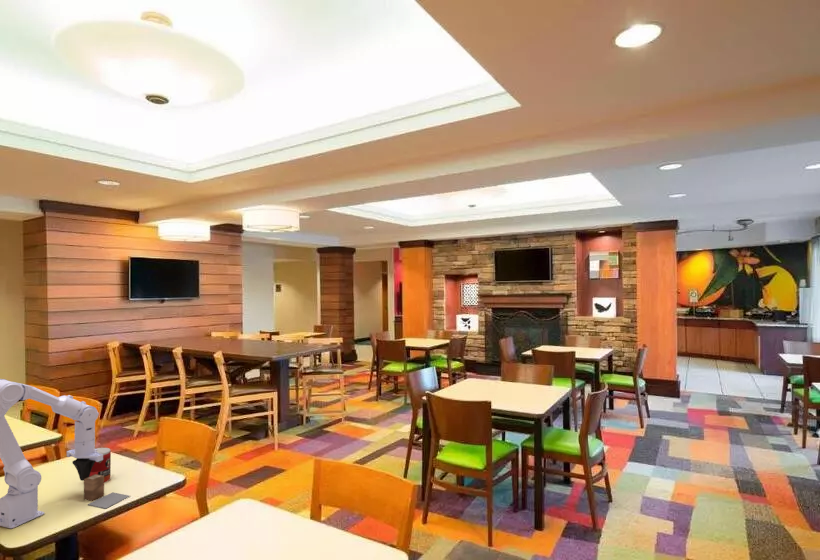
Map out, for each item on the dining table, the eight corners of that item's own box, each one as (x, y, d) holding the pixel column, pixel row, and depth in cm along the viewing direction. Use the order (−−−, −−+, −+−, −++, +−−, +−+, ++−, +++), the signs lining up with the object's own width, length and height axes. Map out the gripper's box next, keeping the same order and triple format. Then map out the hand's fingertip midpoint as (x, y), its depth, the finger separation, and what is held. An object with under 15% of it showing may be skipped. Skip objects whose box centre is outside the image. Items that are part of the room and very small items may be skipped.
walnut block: (92, 501, 155) (92, 480, 155) (83, 499, 156) (84, 478, 156) (103, 496, 159) (103, 475, 159) (95, 494, 160) (95, 473, 160)
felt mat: (105, 509, 150) (105, 508, 150) (87, 505, 152) (87, 504, 152) (130, 496, 158) (130, 495, 158) (112, 493, 161) (112, 492, 161)
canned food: (101, 485, 167) (101, 455, 167) (79, 485, 167) (79, 455, 167) (115, 476, 174) (115, 447, 174) (94, 476, 174) (94, 447, 174)
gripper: (111, 438, 160) (111, 477, 161) (80, 434, 165) (80, 471, 165) (91, 445, 154) (91, 486, 154) (60, 440, 158) (60, 480, 158)
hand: (84, 479), depth 159 cm, fingers closed
